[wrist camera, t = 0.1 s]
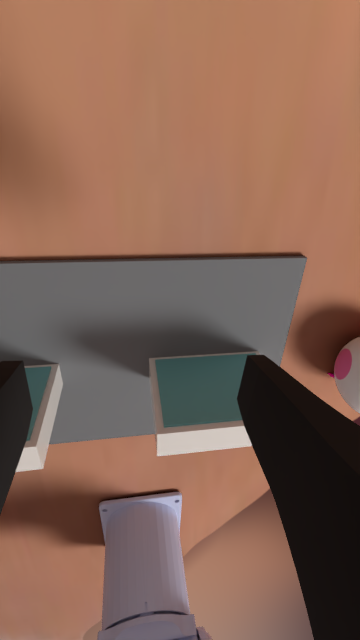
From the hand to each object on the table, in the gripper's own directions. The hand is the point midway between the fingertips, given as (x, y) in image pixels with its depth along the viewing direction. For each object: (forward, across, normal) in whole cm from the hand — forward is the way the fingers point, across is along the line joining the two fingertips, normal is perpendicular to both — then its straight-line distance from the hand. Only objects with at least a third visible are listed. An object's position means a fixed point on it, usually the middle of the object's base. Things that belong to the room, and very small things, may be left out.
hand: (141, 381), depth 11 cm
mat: (+10, +2, +7) cm, 12 cm away
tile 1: (+10, -5, +7) cm, 13 cm away
